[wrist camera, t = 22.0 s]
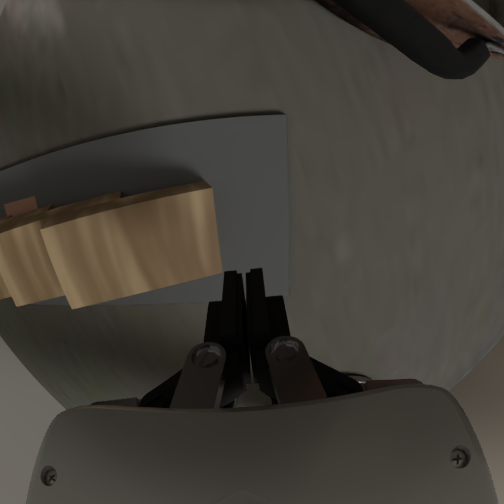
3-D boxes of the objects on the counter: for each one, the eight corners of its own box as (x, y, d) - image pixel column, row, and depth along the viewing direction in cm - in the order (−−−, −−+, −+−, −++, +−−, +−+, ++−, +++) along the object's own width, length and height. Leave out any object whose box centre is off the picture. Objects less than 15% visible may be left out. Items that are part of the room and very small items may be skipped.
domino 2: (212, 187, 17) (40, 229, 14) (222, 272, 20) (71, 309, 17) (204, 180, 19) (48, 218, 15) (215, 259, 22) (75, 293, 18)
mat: (285, 114, 17) (286, 114, 17) (288, 293, 24) (289, 297, 23) (-12, 176, 17) (-15, 177, 17) (34, 302, 24) (32, 305, 23)
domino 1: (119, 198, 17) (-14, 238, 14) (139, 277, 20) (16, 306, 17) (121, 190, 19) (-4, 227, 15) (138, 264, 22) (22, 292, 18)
